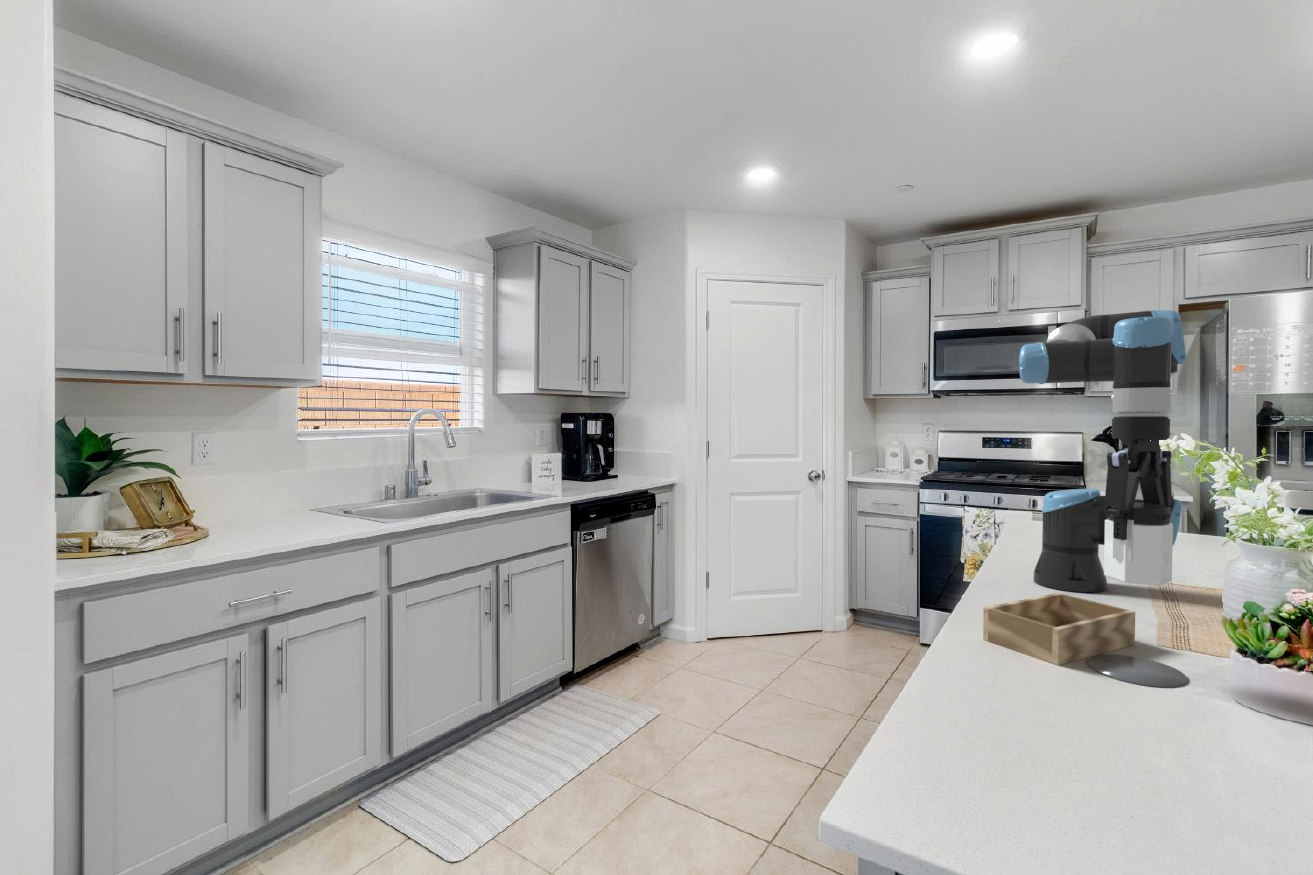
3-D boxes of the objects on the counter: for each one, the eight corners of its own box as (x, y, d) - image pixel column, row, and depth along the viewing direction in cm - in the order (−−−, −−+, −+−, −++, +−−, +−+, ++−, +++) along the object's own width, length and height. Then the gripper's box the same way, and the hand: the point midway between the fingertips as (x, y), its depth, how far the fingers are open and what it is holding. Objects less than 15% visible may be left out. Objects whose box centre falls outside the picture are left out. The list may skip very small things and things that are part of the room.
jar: (1155, 588, 100) (1157, 510, 99) (1096, 577, 106) (1097, 504, 106) (1179, 579, 105) (1180, 505, 104) (1121, 569, 111) (1122, 500, 111)
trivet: (1116, 651, 115) (1116, 649, 115) (1204, 677, 103) (1204, 675, 103) (1070, 663, 109) (1070, 662, 109) (1158, 693, 97) (1158, 691, 97)
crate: (1058, 622, 131) (1058, 592, 130) (1134, 644, 118) (1135, 611, 118) (983, 639, 121) (983, 607, 121) (1057, 665, 108) (1058, 629, 108)
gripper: (1150, 414, 112) (1147, 547, 113) (1077, 415, 104) (1075, 558, 104) (1201, 414, 106) (1198, 555, 106) (1129, 415, 97) (1126, 568, 98)
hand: (1137, 556), depth 105 cm, fingers closed on jar, 7 cm apart
